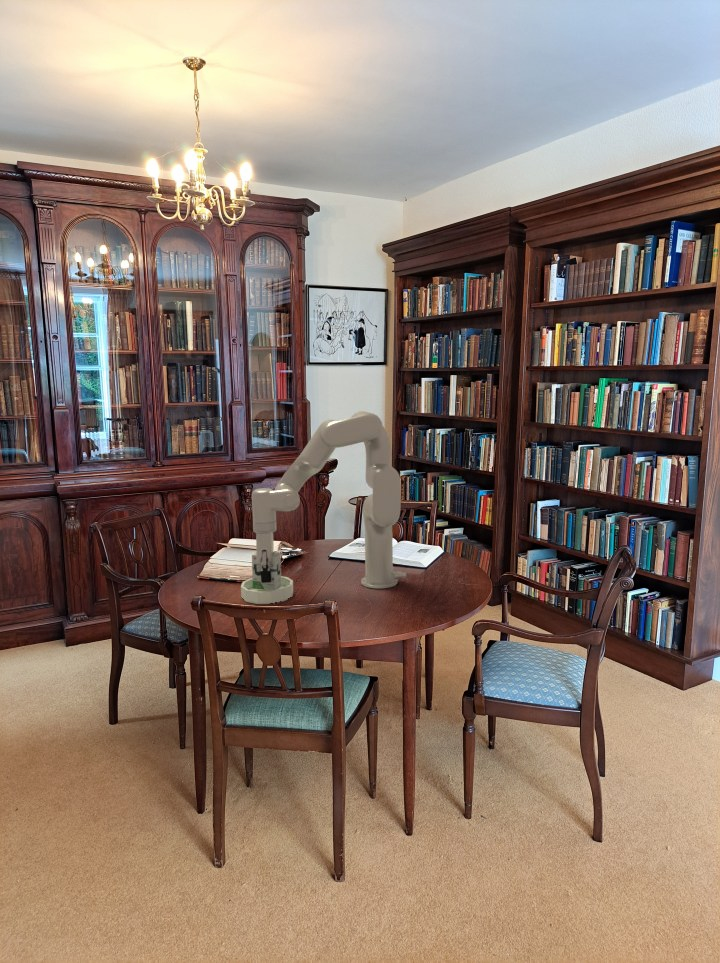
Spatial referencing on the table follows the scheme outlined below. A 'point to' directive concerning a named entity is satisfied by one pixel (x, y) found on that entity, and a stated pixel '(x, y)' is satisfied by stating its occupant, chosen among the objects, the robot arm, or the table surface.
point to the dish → (267, 592)
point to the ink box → (275, 573)
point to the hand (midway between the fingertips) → (267, 578)
